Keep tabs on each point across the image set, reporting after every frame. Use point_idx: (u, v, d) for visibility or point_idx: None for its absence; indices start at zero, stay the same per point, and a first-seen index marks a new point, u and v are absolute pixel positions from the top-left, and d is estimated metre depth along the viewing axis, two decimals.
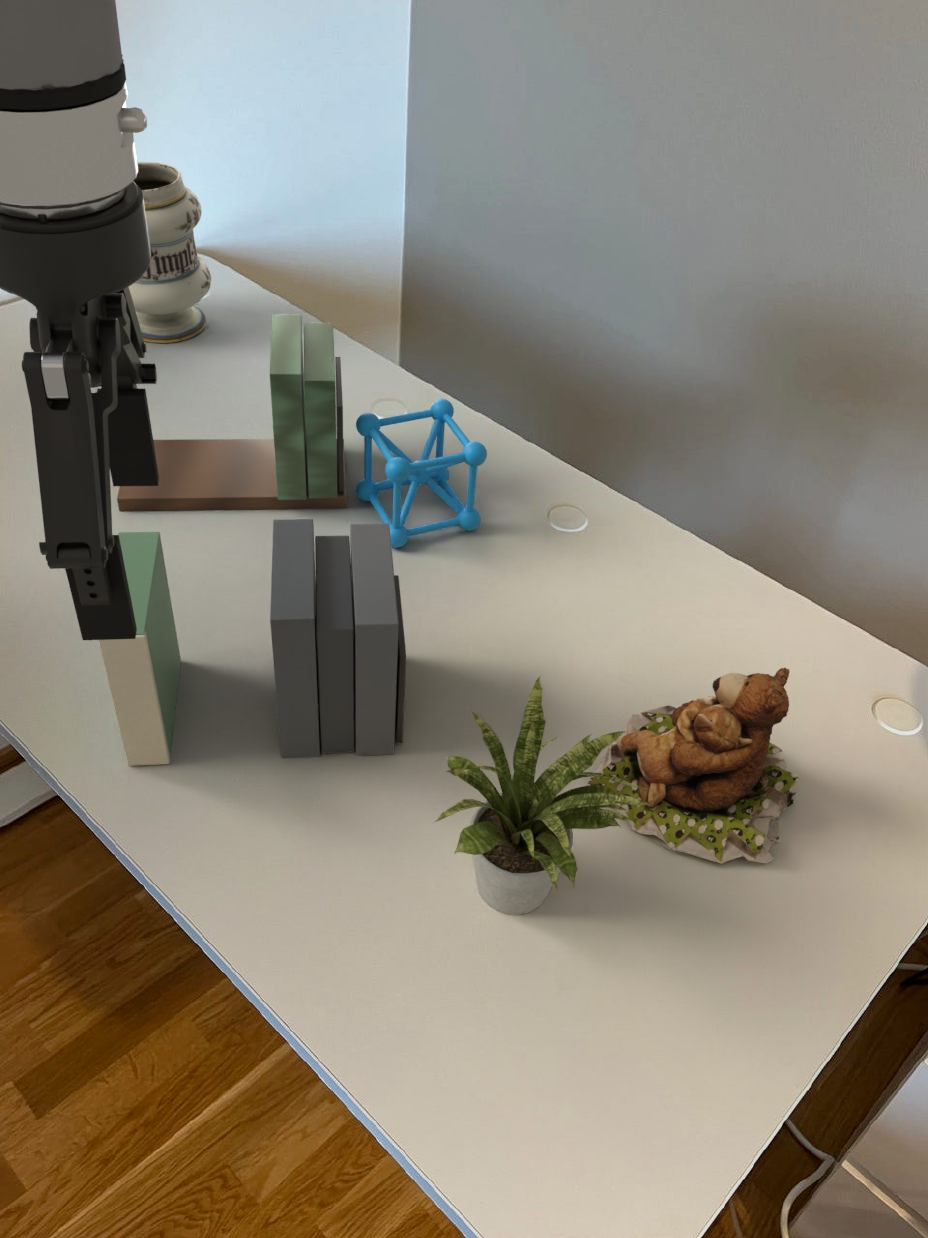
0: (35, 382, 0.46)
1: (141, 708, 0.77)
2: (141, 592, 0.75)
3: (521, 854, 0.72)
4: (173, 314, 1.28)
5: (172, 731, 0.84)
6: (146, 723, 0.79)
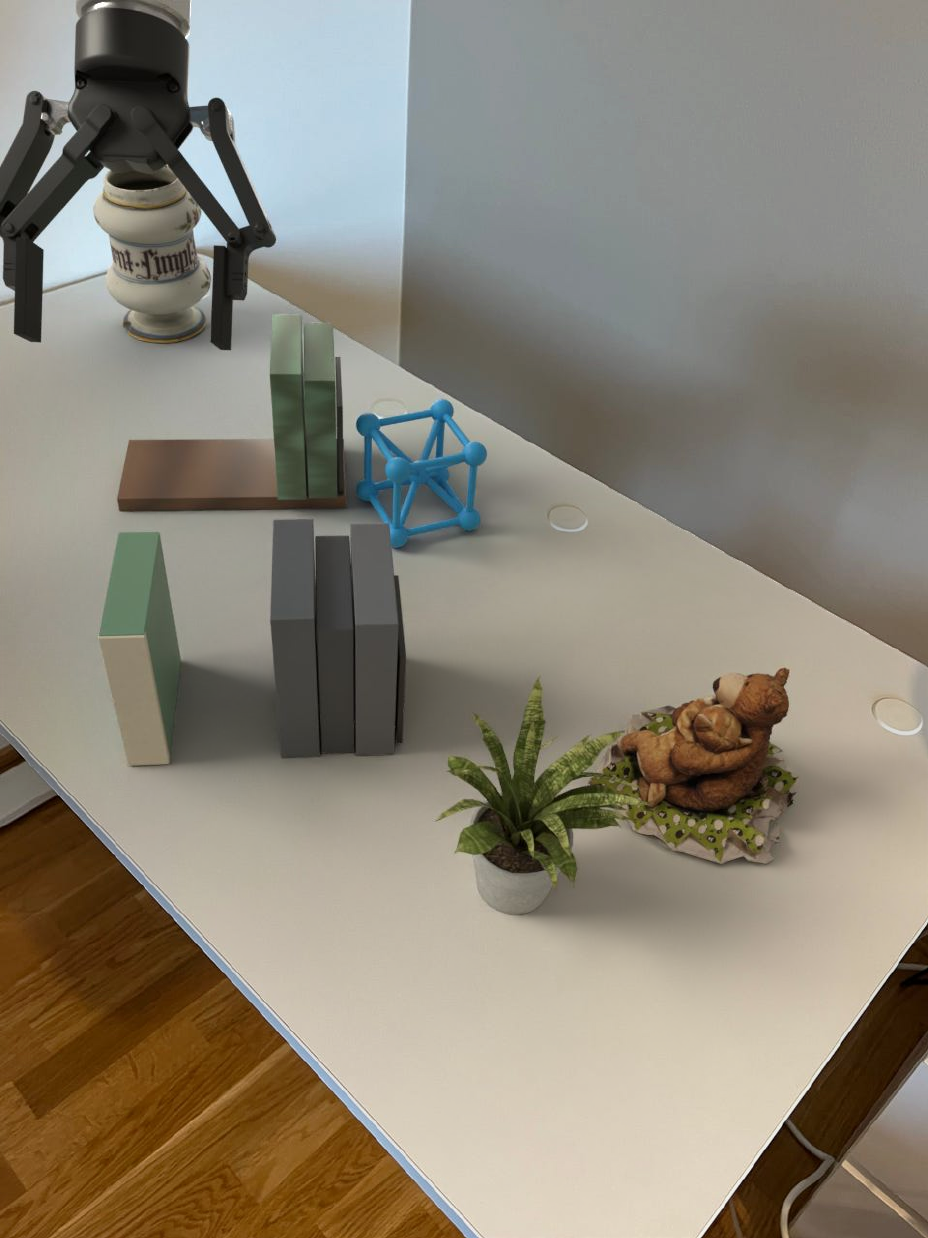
0: (226, 115, 0.73)
1: (141, 708, 0.77)
2: (141, 592, 0.75)
3: (521, 854, 0.72)
4: (173, 314, 1.28)
5: (172, 731, 0.84)
6: (146, 723, 0.79)
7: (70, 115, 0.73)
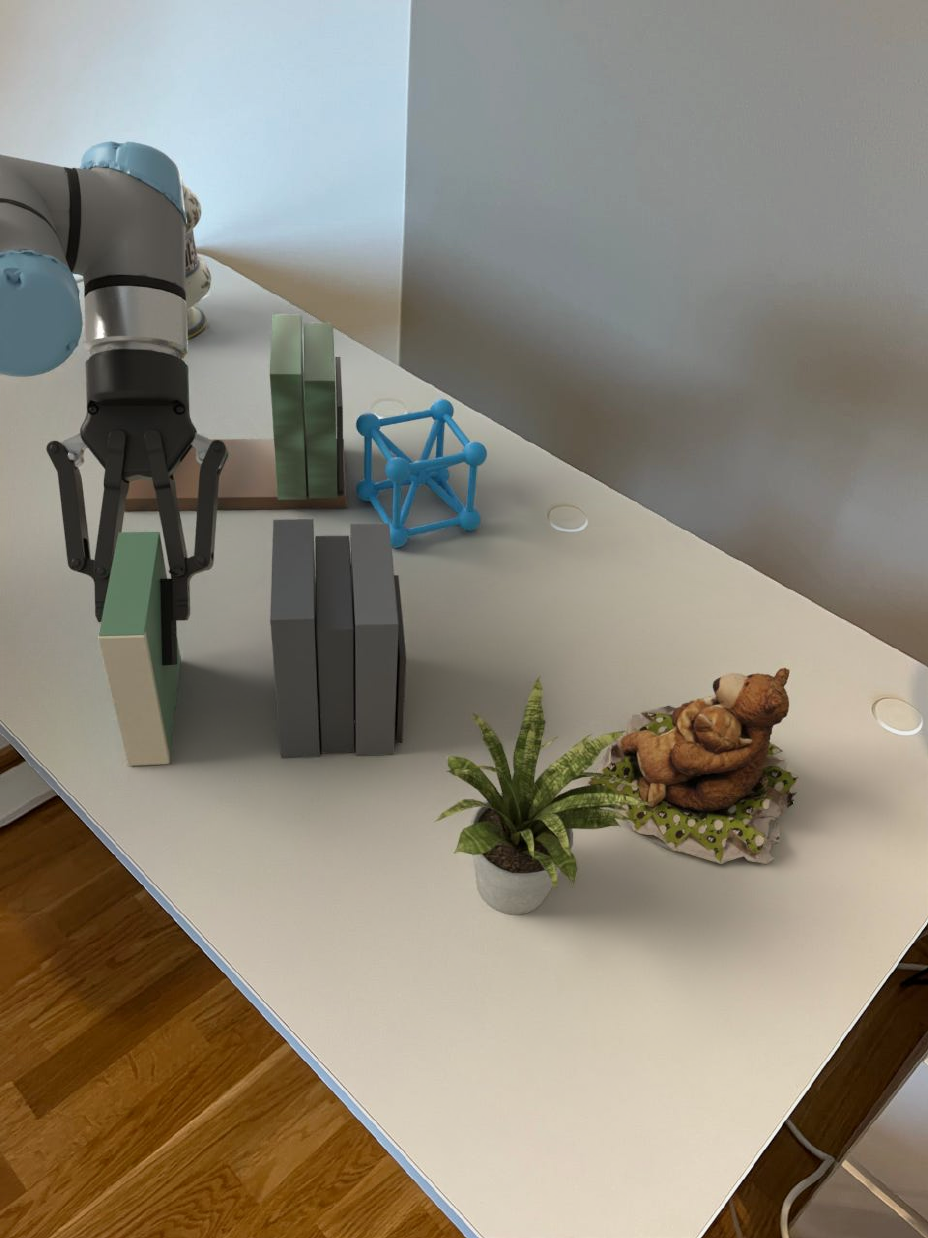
0: (222, 457, 0.81)
1: (141, 708, 0.77)
2: (141, 592, 0.75)
3: (521, 854, 0.72)
4: None
5: (172, 731, 0.84)
6: (146, 723, 0.79)
7: (90, 442, 0.80)
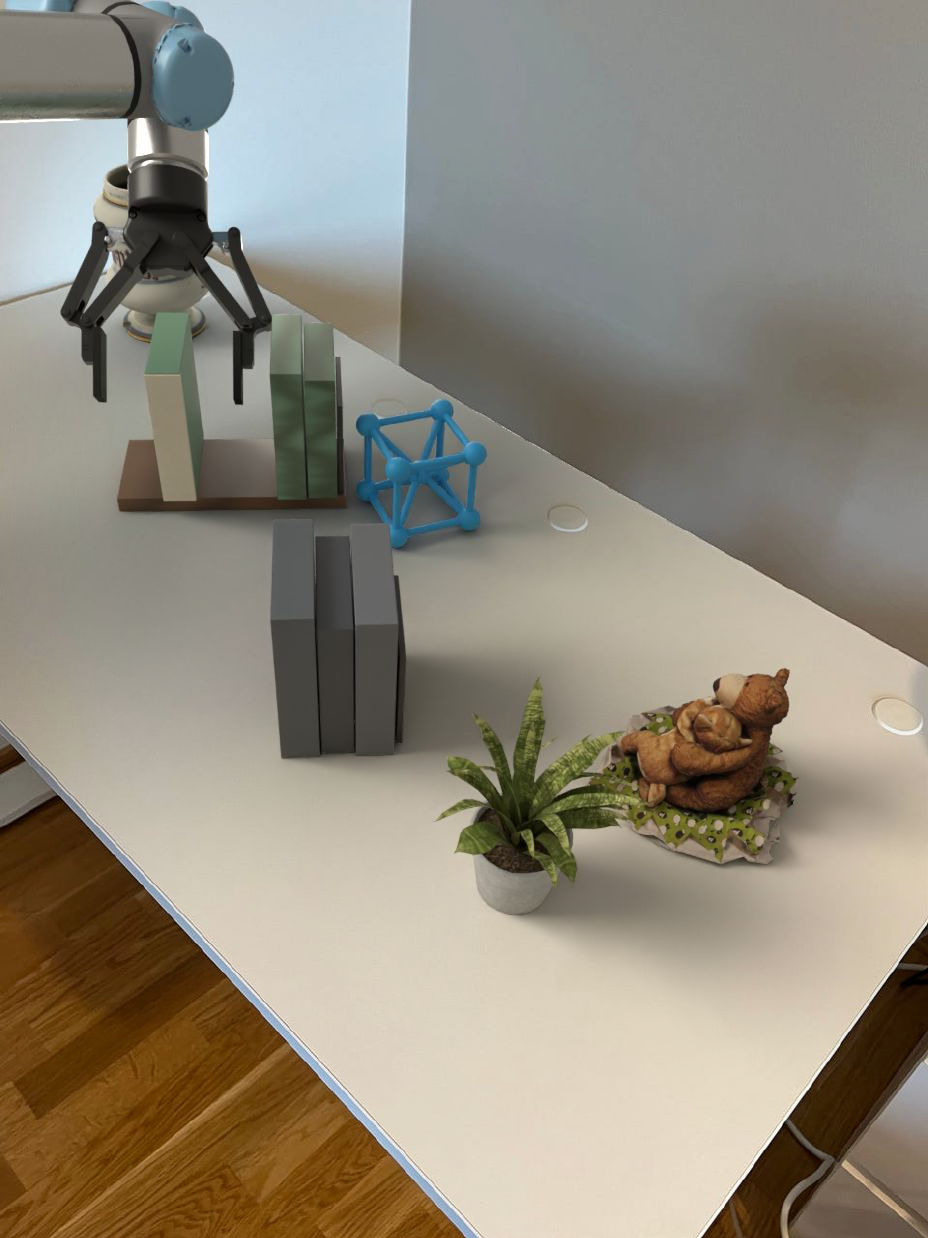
0: (240, 239, 1.03)
1: (175, 444, 0.99)
2: (176, 349, 0.97)
3: (521, 854, 0.72)
4: None
5: None
6: (179, 459, 1.00)
7: (126, 237, 1.01)
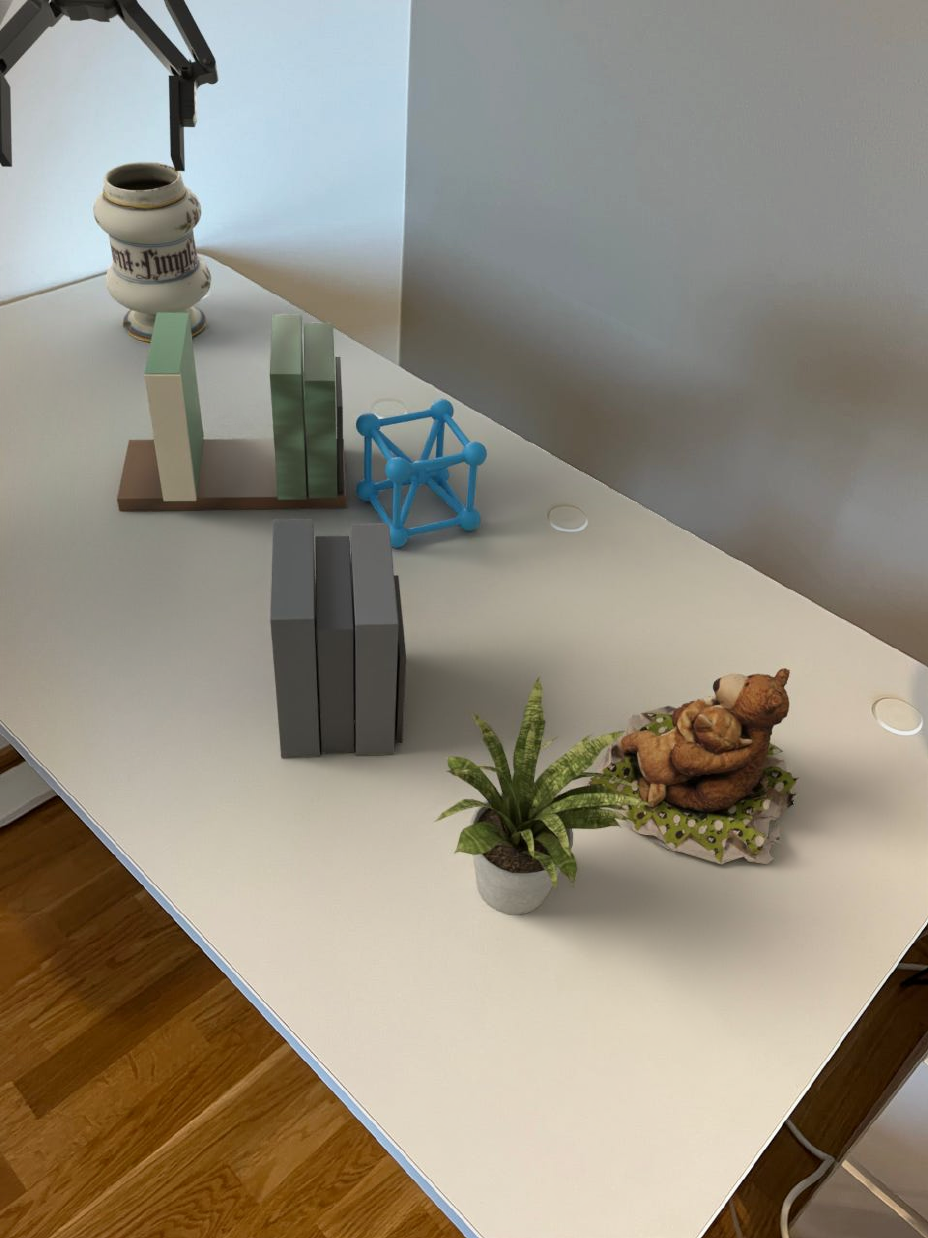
0: None
1: (175, 444, 0.99)
2: (176, 349, 0.97)
3: (521, 854, 0.72)
4: None
5: None
6: (179, 459, 1.00)
7: None
